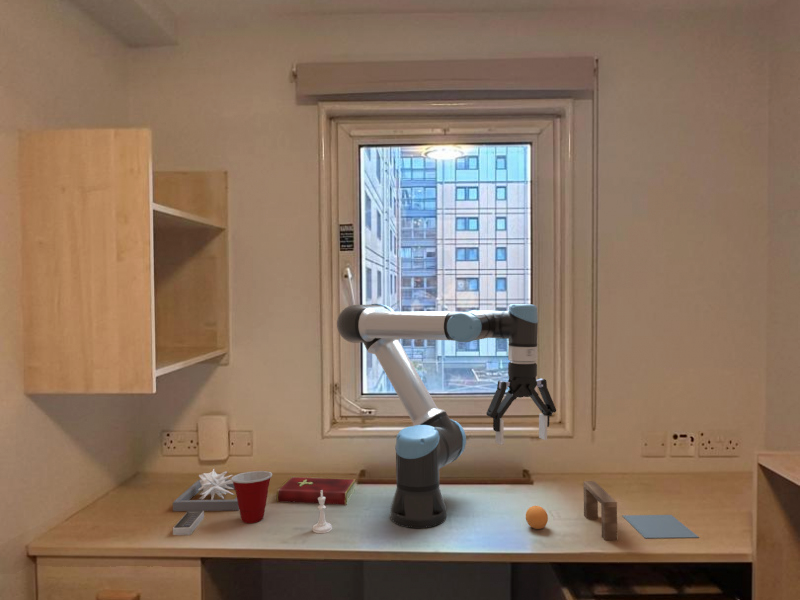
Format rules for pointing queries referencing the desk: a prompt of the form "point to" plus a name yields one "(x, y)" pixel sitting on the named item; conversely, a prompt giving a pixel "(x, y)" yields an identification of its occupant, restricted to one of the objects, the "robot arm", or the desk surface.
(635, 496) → the desk surface
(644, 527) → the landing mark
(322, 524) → the chess piece
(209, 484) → the spiky ball
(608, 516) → the bridge
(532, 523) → the ball
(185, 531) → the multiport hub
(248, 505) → the plastic cup
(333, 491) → the hardcover book
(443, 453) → the robot arm
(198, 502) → the ball rest frame
